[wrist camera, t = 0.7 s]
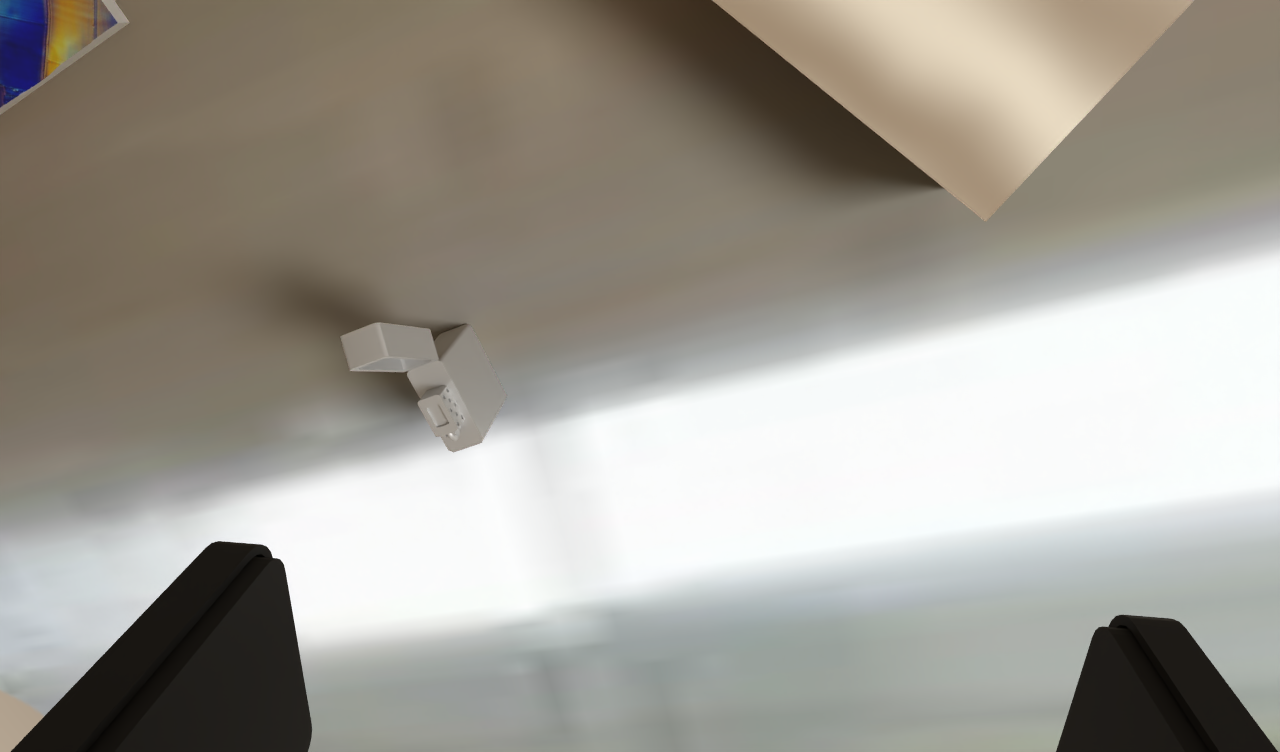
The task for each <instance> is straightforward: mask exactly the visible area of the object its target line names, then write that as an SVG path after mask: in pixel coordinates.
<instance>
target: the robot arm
mask: <svg viewBox="0 0 1280 752" xmlns="http://www.w3.org/2000/svg"><path fill="white" fill-rule="evenodd" d="M311 735H312V724H311V718H310V712H309V706H308V700H307V695H306V689H305V683H304V677H303V671H302V666H301V660H300V654H299V648H298V642H297V636H296V631H295V625H294V619H293V613H292V607H291V601H290V596H289V590H288V584H287V578H286V572H285V568H284V564H283V563H282V561H281V560H280V559H277V558H272V554H271V552H270V550H269V549H268V548H267V547H266V546H264V545H259V544H246V543H234V542H222V541H218V542H214V543H211V544H210V545H209V546H208V547H206V548H205V549H204V550H203V551H202V552H201V553H200V554H199V556H198V557H197V558H196V559H195V560H194V561H193V562H192V563H191V564H190V565H189V566H188V567H187V568H186V569H185V570H184V571H183V572H182V573H181V574H180V575H179V576H178V577H177V578H176V580H175V581H174V582H173V583H172V584H171V585H170V586H169V587H168V588H167V589H166V590H165V591H164V592H163V593H162V594H161V595H160V596H159V597H158V598H157V599H156V600H155V601H154V603H153V604H152V605H151V606H150V607H149V608H148V609H147V610H146V611H145V612H144V613H143V614H142V615H141V616H140V617H139V618H138V619H137V620H136V621H135V622H134V623H133V624H132V626H131V627H130V628H129V629H128V630H127V631H126V632H125V633H124V634H123V635H122V636H121V637H120V638H119V639H118V640H117V641H116V642H115V643H114V644H113V645H112V646H111V647H110V648H109V650H108V651H107V652H106V653H105V654H104V655H103V656H102V657H101V658H100V659H99V660H98V661H97V662H96V663H95V664H94V665H93V666H92V667H91V668H90V669H89V670H88V671H87V673H86V674H85V675H84V676H83V677H82V678H81V679H80V680H79V681H78V682H77V683H76V684H75V685H74V686H73V687H72V688H71V689H70V690H69V691H68V692H67V693H66V694H65V696H64V697H63V698H62V699H61V700H60V701H59V702H58V703H57V704H56V705H55V706H54V707H53V708H52V709H51V710H50V711H49V712H48V713H47V714H46V715H45V716H44V717H43V718H42V720H41V721H40V722H39V723H38V724H37V725H36V726H35V727H34V728H33V729H32V730H31V731H30V732H29V733H28V734H27V735H26V736H25V737H24V738H23V739H22V741H21V742H20V743H19V744H18V745H17V746H16V747H15V748H14V749H13V750H12V751H11V752H308V749H309V746H310V741H311ZM1056 752H1278V751H1277V750H1276V749H1275V747H1274V746H1273V745H1272V743H1271V742H1270V740H1269V739H1268V738H1267V736H1266V735H1265V734H1264V732H1263V731H1262V730H1261V728H1260V727H1259V726H1258V724H1257V723H1256V722H1255V720H1254V719H1253V718H1252V716H1251V715H1250V714H1249V712H1248V711H1247V710H1246V708H1245V707H1244V706H1243V704H1242V703H1241V702H1240V700H1239V699H1238V698H1237V696H1236V695H1235V694H1234V692H1233V691H1232V690H1231V688H1230V687H1229V686H1228V684H1227V683H1226V682H1225V680H1224V679H1223V678H1222V676H1221V675H1220V673H1219V672H1218V671H1217V669H1216V668H1215V667H1214V665H1213V664H1212V663H1211V661H1210V660H1209V659H1208V657H1207V656H1206V655H1205V653H1204V652H1203V651H1202V649H1201V648H1200V647H1199V645H1198V644H1197V643H1196V641H1195V640H1194V639H1193V637H1192V636H1191V635H1190V633H1189V632H1188V631H1187V629H1186V628H1185V627H1184V626H1183V625H1182V624H1181V623H1180V622H1179V621H1176V620H1174V619H1168V618H1156V617H1143V616H1131V615H1119V616H1116V617H1115V618H1114V619H1113V620H1112V621H1111V623H1110V625H1109V627H1099V628H1098V629H1097V630H1096V631H1095V633H1094V635H1093V637H1092V640H1091V643H1090V646H1089V650H1088V653H1087V656H1086V659H1085V662H1084V665H1083V669H1082V672H1081V675H1080V678H1079V681H1078V684H1077V687H1076V691H1075V694H1074V697H1073V700H1072V703H1071V706H1070V710H1069V713H1068V716H1067V719H1066V722H1065V725H1064V729H1063V732H1062V735H1061V738H1060V741H1059V744H1058V748H1057V751H1056Z"/></svg>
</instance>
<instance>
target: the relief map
mask: <svg viewBox="0 0 1280 752" xmlns="http://www.w3.org/2000/svg"><path fill="white" fill-rule="evenodd" d="M129 23H130V22H129V21H128V20H127V18H126V17H125V15H124V14H123V12H122V11H121V9H120V8H119V7H118V5H117V4H116V2H115V1H114V0H0V115H1V114H2V113H4V112H5V111H7V110H8V109H9V108H11V107H12V106H14V105H15V104H16V103H18V102H19V101H21V100H22V99H23V98H25V97H26V96H28V95H29V94H30V93H32V92H33V91H35V90H36V89H38V88H39V87H40V86H42V85H43V84H45V83H46V82H47V81H49V80H50V79H52V78H53V77H54V76H56V75H57V74H59V73H60V72H61V71H63V70H64V69H66V68H67V67H68V66H70V65H71V64H73V63H74V62H75V61H77V60H78V59H80V58H81V57H82V56H84V55H85V54H87V53H88V52H89V51H91V50H92V49H94V48H95V47H96V46H98V45H99V44H101V43H102V42H104V41H105V40H106V39H108V38H109V37H111V36H112V35H113V34H115V33H116V32H118V31H119V30H120V29H122V28H123V27H125V26H126V25H127V24H129Z"/></svg>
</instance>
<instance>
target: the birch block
mask: <svg viewBox="0 0 1280 752" xmlns="http://www.w3.org/2000/svg"><path fill="white" fill-rule="evenodd" d="M712 1H714V2H715V3H716V4H717V5H719V6H720V7H721V8H722V9H723V10H725V11H726V12H727V13H728V14H730V15H731V16H732V17H733V18H735V19H736V20H737V21H738V22H740V23H741V24H742V25H743V26H744V27H746V28H747V29H748V30H749V31H751V32H752V33H753V34H754V35H756V36H757V37H758V38H759V39H761V40H762V41H763V42H764V43H765V44H767V45H768V46H769V47H770V48H772V49H773V50H774V51H775V52H777V53H778V54H779V55H780V56H782V57H783V58H784V59H785V60H786V61H788V62H789V63H790V64H791V65H793V66H794V67H795V68H796V69H798V70H799V71H800V72H801V73H803V74H804V75H805V76H806V77H807V78H809V79H810V80H811V81H812V82H814V83H815V84H816V85H817V86H819V87H820V88H821V89H822V90H824V91H825V92H826V93H827V94H828V95H830V96H831V97H832V98H833V99H835V100H836V101H837V102H838V103H840V104H841V105H842V106H843V107H845V108H846V109H847V110H848V111H849V112H851V113H852V114H853V115H854V116H856V117H857V118H858V119H859V120H861V121H862V122H863V123H864V124H866V125H867V126H868V127H869V128H870V129H872V130H873V131H874V132H875V133H877V134H878V135H879V136H880V137H882V138H883V139H884V140H885V141H887V142H888V143H889V144H890V145H891V146H893V147H894V148H895V149H896V150H898V151H899V152H900V153H901V154H903V155H904V156H905V157H906V158H908V159H909V160H910V161H911V162H913V163H914V164H915V165H916V166H917V167H919V168H920V169H921V170H922V171H924V172H925V173H926V174H927V175H929V176H930V177H931V178H932V179H934V180H935V181H936V182H937V183H938V184H940V185H941V186H942V187H943V188H945V189H946V190H947V191H948V192H950V193H951V194H952V195H953V196H955V197H956V198H957V199H958V200H959V201H961V202H962V203H963V204H964V205H966V206H967V207H968V208H969V209H971V210H972V211H973V212H974V213H976V214H977V215H978V216H979V217H980V218H982V219H983V220H984V221H985V222H986V221H987V220H988V219H989V218H990V217H991V216H992V214H993V213H994V212H995V211H996V210H997V209H998V208H999V207H1000V206H1001V205H1002V204H1003V203H1004V202H1005V201H1006V200H1007V199H1008V197H1009V196H1010V195H1011V194H1012V193H1013V192H1014V191H1015V190H1016V189H1017V188H1018V187H1019V186H1020V185H1021V184H1022V183H1023V182H1024V180H1025V179H1026V178H1027V177H1028V176H1029V175H1030V174H1031V173H1032V172H1033V171H1034V170H1035V169H1036V168H1037V167H1038V166H1039V165H1040V163H1041V162H1042V161H1043V160H1044V159H1045V158H1046V157H1047V156H1048V155H1049V154H1050V153H1051V152H1052V151H1053V150H1054V149H1055V148H1056V147H1057V145H1058V144H1059V143H1060V142H1061V141H1062V140H1063V139H1064V138H1065V137H1066V136H1067V135H1068V134H1069V133H1070V132H1071V131H1072V130H1073V128H1074V127H1075V126H1076V125H1077V124H1078V123H1079V122H1080V121H1081V120H1082V119H1083V118H1084V117H1085V116H1086V115H1087V114H1088V113H1089V111H1090V110H1091V109H1092V108H1093V107H1094V106H1095V105H1096V104H1097V103H1098V102H1099V101H1100V100H1101V99H1102V98H1103V97H1104V96H1105V95H1106V93H1107V92H1108V91H1109V90H1110V89H1111V88H1112V87H1113V86H1114V85H1115V84H1116V83H1117V82H1118V81H1119V80H1120V79H1121V78H1122V76H1123V75H1124V74H1125V73H1126V72H1127V71H1128V70H1129V69H1130V68H1131V67H1132V66H1133V65H1134V64H1135V63H1136V62H1137V61H1138V59H1139V58H1140V57H1141V56H1142V55H1143V54H1144V53H1145V52H1146V51H1147V50H1148V49H1149V48H1150V47H1151V46H1152V45H1153V44H1154V42H1155V41H1156V40H1157V39H1158V38H1159V37H1160V36H1161V35H1162V34H1163V33H1164V32H1165V31H1166V30H1167V29H1168V28H1169V27H1170V26H1171V24H1172V23H1173V22H1174V21H1175V20H1176V19H1177V18H1178V17H1179V16H1180V15H1181V14H1182V13H1183V12H1184V11H1185V10H1186V9H1187V7H1188V6H1189V5H1190V4H1191V3H1192V2H1193V1H1194V0H712Z"/></svg>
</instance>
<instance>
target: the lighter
mask: <svg viewBox="0 0 1280 752" xmlns="http://www.w3.org/2000/svg"><path fill="white" fill-rule="evenodd" d="M340 339H341V343H342V346H343V350H344V353H345V357H346V360H347V364H348V367H349V371H372V372H406V371H408V374H407V376H408V378H409V380H410V382H411V384H412V385H413V387H414V389H415V391H416V393H417V394H418V396H419V398H420V400H419V401H418V403H417V404H418V406H419V407H420V409H421V411H422V413H423V415H424V416H425V418H426V420H427V422H428V424H429V425H430V427H431V429H432V431H433V433H434V434H435V436H436V437H439V436H441V438H442V440H443V441H444V443H445V445H446V447H447V449H448V450H449V451H452V452H456V451H459V450H462V449H465V448H468V447H471V446H474V445H477V444H480V443H482V441H483V439H484V438H485V436H486V434H487V432H488V430H489V429H490V427H491V425H492V423H493V421H494V420H495V418H496V416H497V414H498V413H499V411H500V409H501V407H502V405H503V404H504V402H505V400H506V398H507V394H506V392H505V391H504V389H503V387H502V385H501V383H500V381H499V379H498V377H497V375H496V373H495V371H494V369H493V367H492V365H491V363H490V361H489V359H488V357H487V355H486V353H485V351H484V350H483V348H482V346H481V344H480V342H479V340H478V338H477V336H476V334H475V332H474V330H473V328H472V326H470V325H468V324H465V325H462V326H459V327H457V328H454V329H451V330H449V331H446V332H443V333H441V334H440V335H439V336H438V337H437V338H436V339H435V341H433V338H432V334H431V331H430V329H427V328H419V327H411V326H404V325H396V324H388V323H380V322H379V323H373V324H370V325H368V326H365V327H363V328H360V329H357V330H355V331H352V332H350V333H347V334H345V335H342V336H341V337H340Z"/></svg>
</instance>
